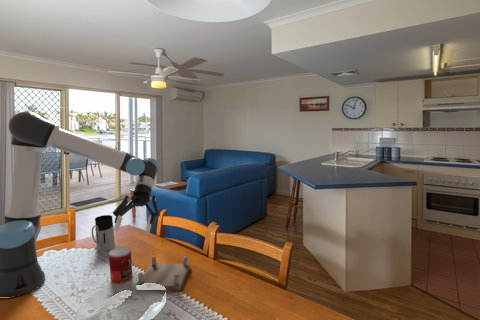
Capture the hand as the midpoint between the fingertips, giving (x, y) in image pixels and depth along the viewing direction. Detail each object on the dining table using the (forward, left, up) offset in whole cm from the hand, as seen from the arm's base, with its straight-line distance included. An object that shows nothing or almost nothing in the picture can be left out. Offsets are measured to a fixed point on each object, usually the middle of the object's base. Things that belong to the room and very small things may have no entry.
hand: (131, 231), depth 116 cm
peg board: (+17, -11, -15) cm, 25 cm away
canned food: (0, -11, -15) cm, 18 cm away
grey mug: (-21, +13, -15) cm, 29 cm away
